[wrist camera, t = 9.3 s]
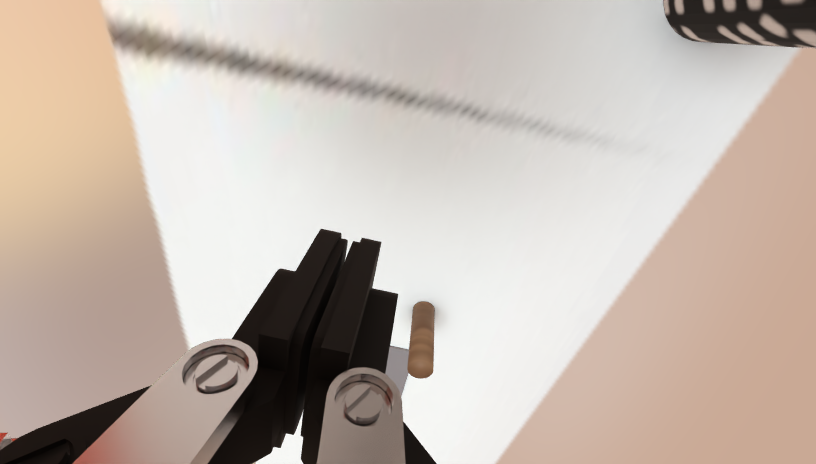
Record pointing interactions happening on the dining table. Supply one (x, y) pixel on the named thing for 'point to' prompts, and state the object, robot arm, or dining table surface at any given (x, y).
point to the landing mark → (397, 366)
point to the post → (421, 341)
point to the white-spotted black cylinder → (745, 21)
